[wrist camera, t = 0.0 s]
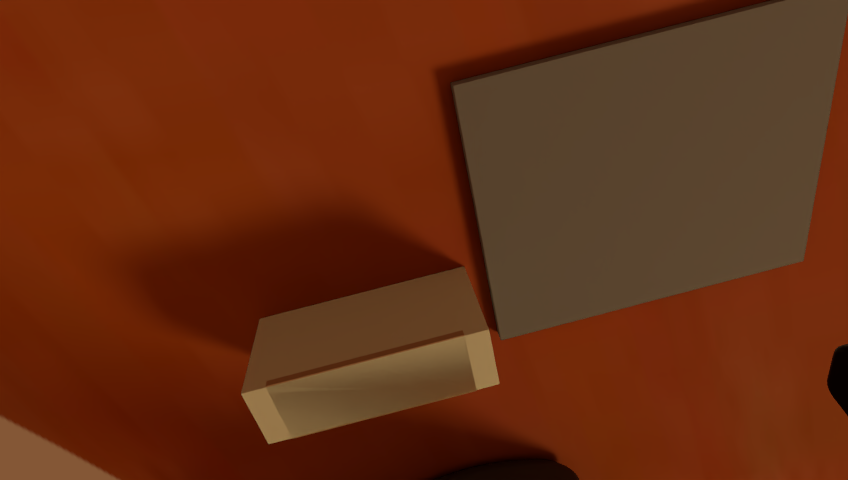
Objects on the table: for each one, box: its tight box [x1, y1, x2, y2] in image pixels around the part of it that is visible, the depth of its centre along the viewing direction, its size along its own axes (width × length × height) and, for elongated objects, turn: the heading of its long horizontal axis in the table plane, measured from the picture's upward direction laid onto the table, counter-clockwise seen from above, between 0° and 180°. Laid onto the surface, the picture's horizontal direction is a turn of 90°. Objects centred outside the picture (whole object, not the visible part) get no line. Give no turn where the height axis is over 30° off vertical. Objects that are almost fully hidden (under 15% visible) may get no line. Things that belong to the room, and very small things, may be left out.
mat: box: [451, 0, 848, 340], centre depth 23 cm, size 13×16×1 cm
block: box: [241, 266, 499, 444], centre depth 23 cm, size 3×10×5 cm, turn 102°
